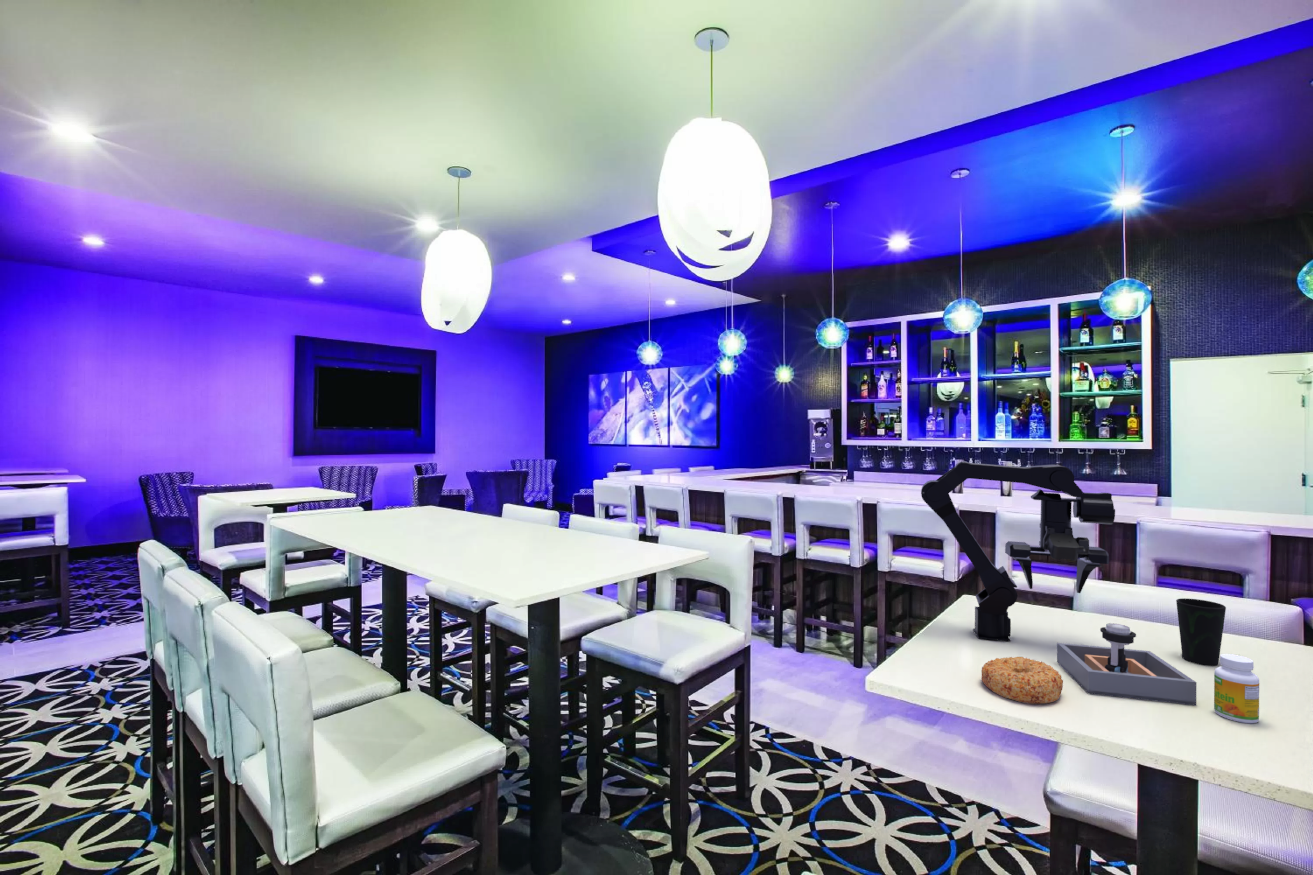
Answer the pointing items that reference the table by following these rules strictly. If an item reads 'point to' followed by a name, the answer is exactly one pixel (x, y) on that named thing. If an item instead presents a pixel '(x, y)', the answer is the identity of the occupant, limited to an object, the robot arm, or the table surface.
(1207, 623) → the cup
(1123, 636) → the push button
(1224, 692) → the supplement bottle
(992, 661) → the bagel
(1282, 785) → the table surface
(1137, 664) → the walled box
